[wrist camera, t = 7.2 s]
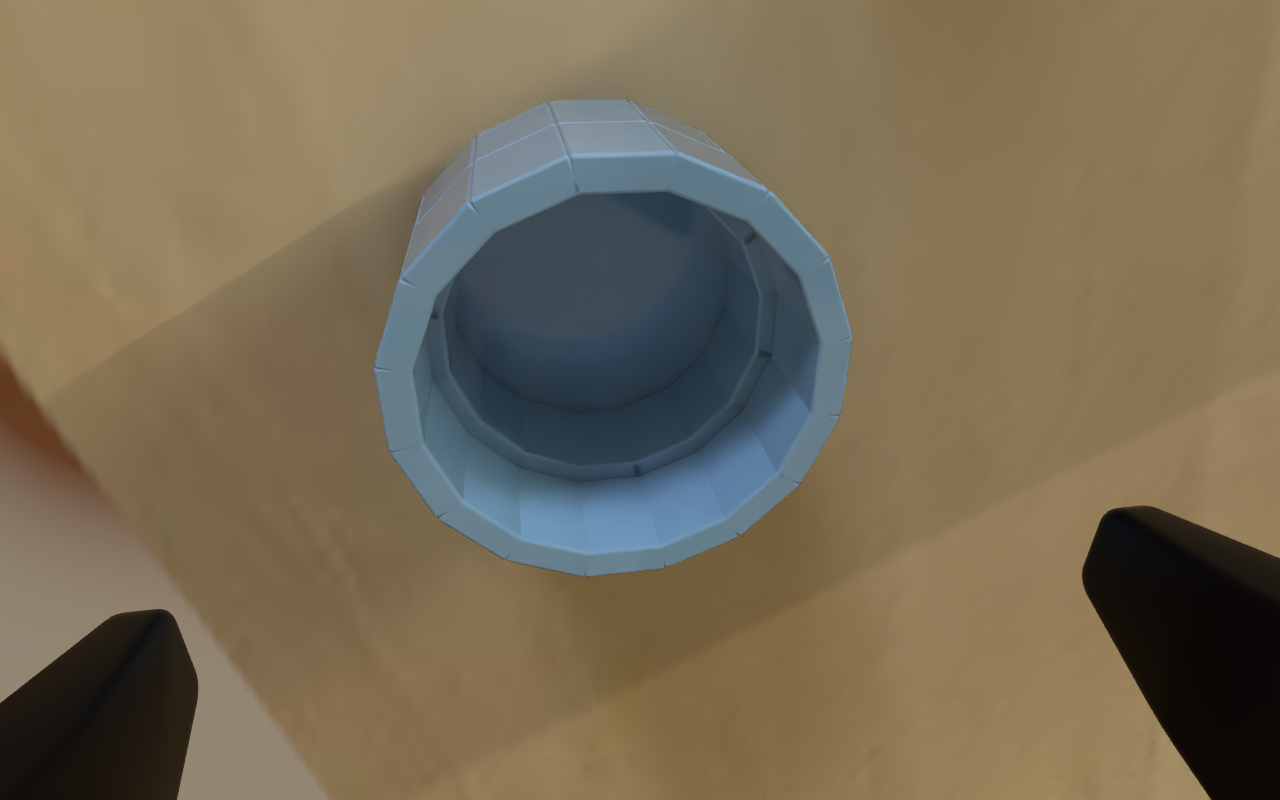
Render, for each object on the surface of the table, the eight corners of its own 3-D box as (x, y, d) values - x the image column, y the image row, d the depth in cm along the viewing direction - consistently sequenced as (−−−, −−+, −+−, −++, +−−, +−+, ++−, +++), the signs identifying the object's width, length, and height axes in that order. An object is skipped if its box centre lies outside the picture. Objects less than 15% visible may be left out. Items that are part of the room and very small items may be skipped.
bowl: (432, 441, 16) (414, 597, 12) (382, 98, 13) (334, 161, 9) (746, 416, 17) (820, 553, 13) (774, 91, 14) (884, 144, 10)
